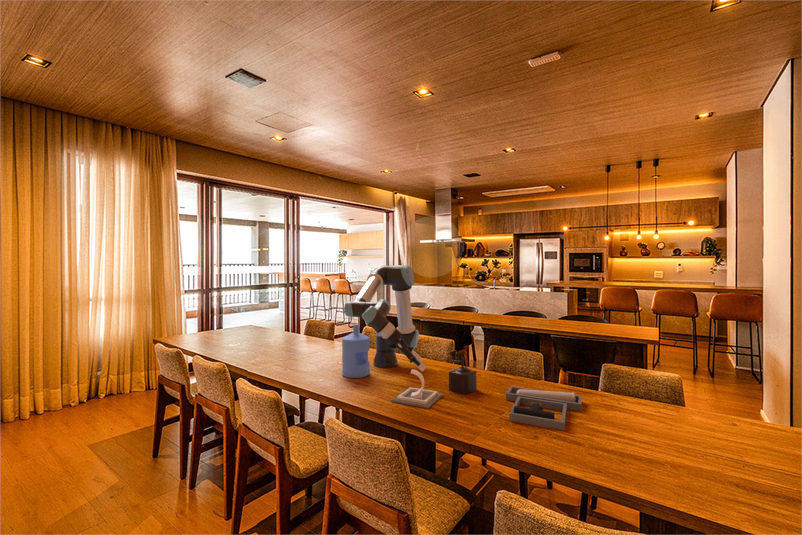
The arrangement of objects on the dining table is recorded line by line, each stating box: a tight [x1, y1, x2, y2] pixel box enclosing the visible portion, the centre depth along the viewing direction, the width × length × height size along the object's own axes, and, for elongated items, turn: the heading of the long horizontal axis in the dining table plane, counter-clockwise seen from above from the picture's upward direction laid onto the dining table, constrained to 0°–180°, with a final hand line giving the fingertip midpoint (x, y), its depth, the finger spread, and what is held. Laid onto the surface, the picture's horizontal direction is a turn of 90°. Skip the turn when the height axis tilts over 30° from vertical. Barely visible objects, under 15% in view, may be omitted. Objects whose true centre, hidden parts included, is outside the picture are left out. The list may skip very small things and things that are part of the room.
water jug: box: [341, 324, 371, 379], centre depth 214 cm, size 16×16×28 cm
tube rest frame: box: [505, 385, 583, 412], centre depth 172 cm, size 11×31×3 cm, turn 64°
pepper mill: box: [448, 349, 478, 395], centre depth 189 cm, size 16×11×18 cm
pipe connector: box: [514, 402, 556, 420], centre depth 153 cm, size 12×5×15 cm
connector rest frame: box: [508, 396, 568, 431], centre depth 155 cm, size 21×20×3 cm
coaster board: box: [391, 386, 444, 409], centre depth 175 cm, size 18×18×2 cm
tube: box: [516, 389, 576, 403], centre depth 171 cm, size 5×5×25 cm
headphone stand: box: [410, 368, 425, 398], centre depth 175 cm, size 5×6×12 cm
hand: (422, 365), depth 175 cm, fingers open, 13 cm apart
